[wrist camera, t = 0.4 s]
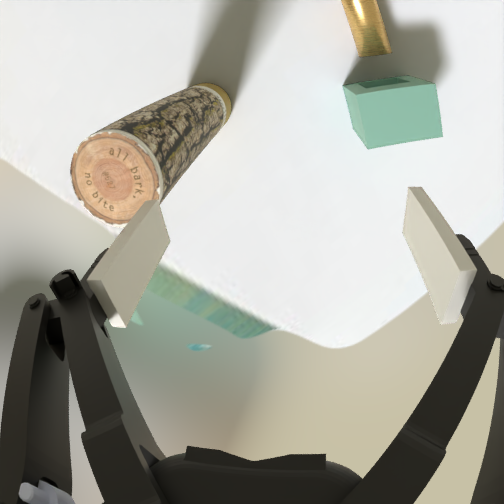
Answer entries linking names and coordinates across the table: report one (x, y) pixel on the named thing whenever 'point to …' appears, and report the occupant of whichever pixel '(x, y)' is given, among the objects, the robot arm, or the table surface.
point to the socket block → (394, 110)
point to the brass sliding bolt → (367, 27)
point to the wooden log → (146, 152)
